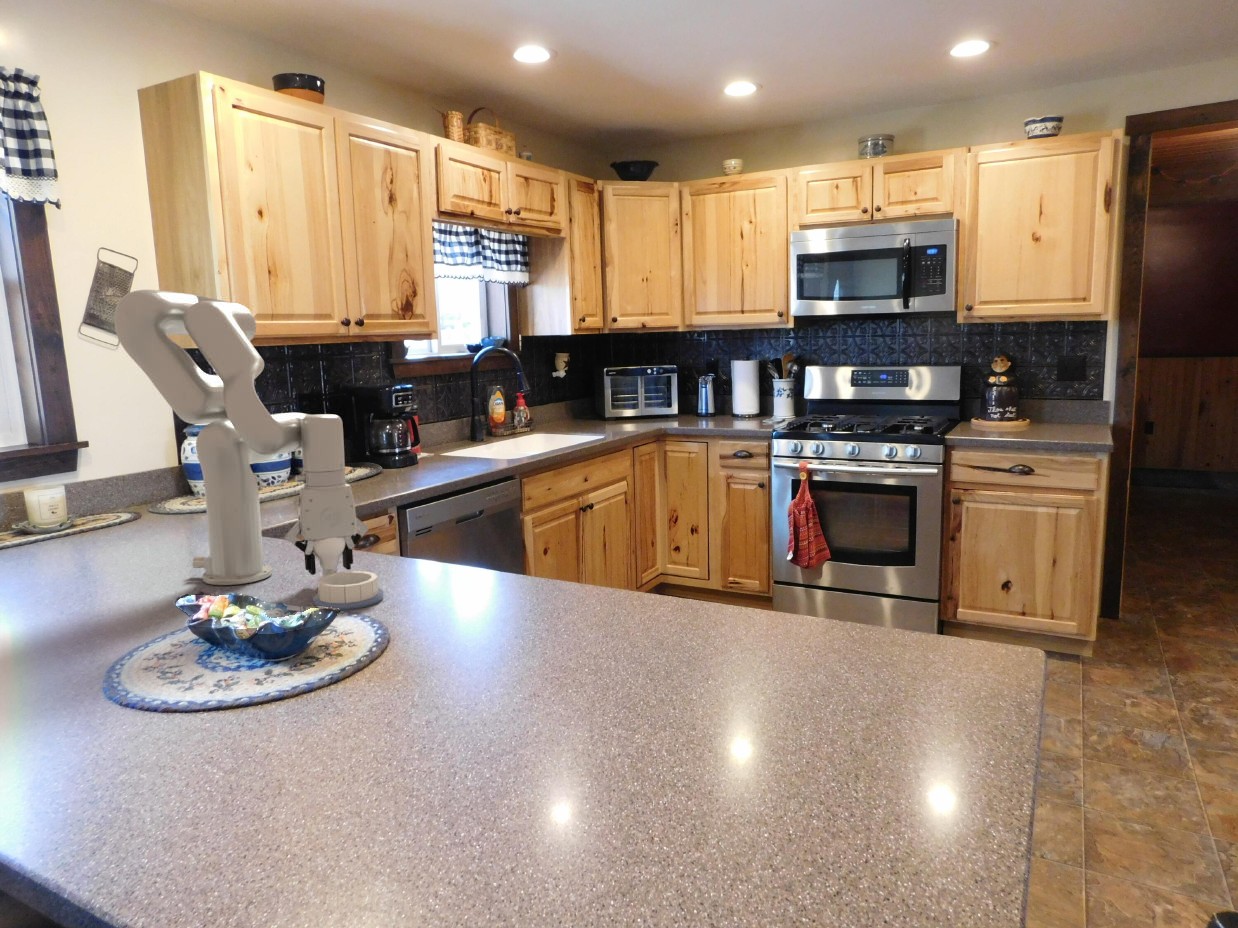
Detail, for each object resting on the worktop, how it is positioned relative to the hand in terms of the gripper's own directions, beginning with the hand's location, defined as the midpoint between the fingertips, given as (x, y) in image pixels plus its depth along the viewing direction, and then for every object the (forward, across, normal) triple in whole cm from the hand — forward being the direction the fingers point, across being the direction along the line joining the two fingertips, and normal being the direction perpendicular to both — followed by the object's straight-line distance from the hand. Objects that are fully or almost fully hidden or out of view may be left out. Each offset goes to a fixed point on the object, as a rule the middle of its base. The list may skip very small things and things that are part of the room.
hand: (329, 569), depth 158 cm
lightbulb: (+3, 0, 0) cm, 3 cm away
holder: (+3, 0, -14) cm, 14 cm away
